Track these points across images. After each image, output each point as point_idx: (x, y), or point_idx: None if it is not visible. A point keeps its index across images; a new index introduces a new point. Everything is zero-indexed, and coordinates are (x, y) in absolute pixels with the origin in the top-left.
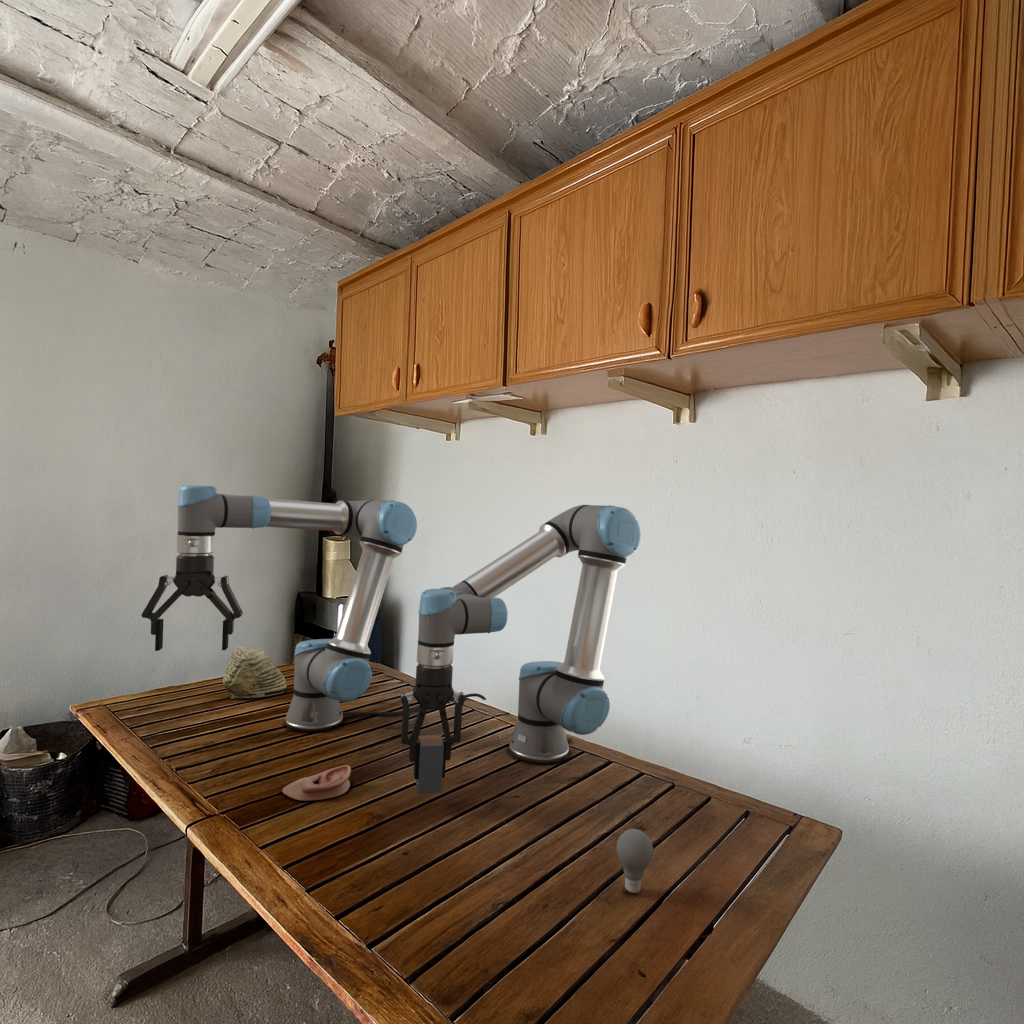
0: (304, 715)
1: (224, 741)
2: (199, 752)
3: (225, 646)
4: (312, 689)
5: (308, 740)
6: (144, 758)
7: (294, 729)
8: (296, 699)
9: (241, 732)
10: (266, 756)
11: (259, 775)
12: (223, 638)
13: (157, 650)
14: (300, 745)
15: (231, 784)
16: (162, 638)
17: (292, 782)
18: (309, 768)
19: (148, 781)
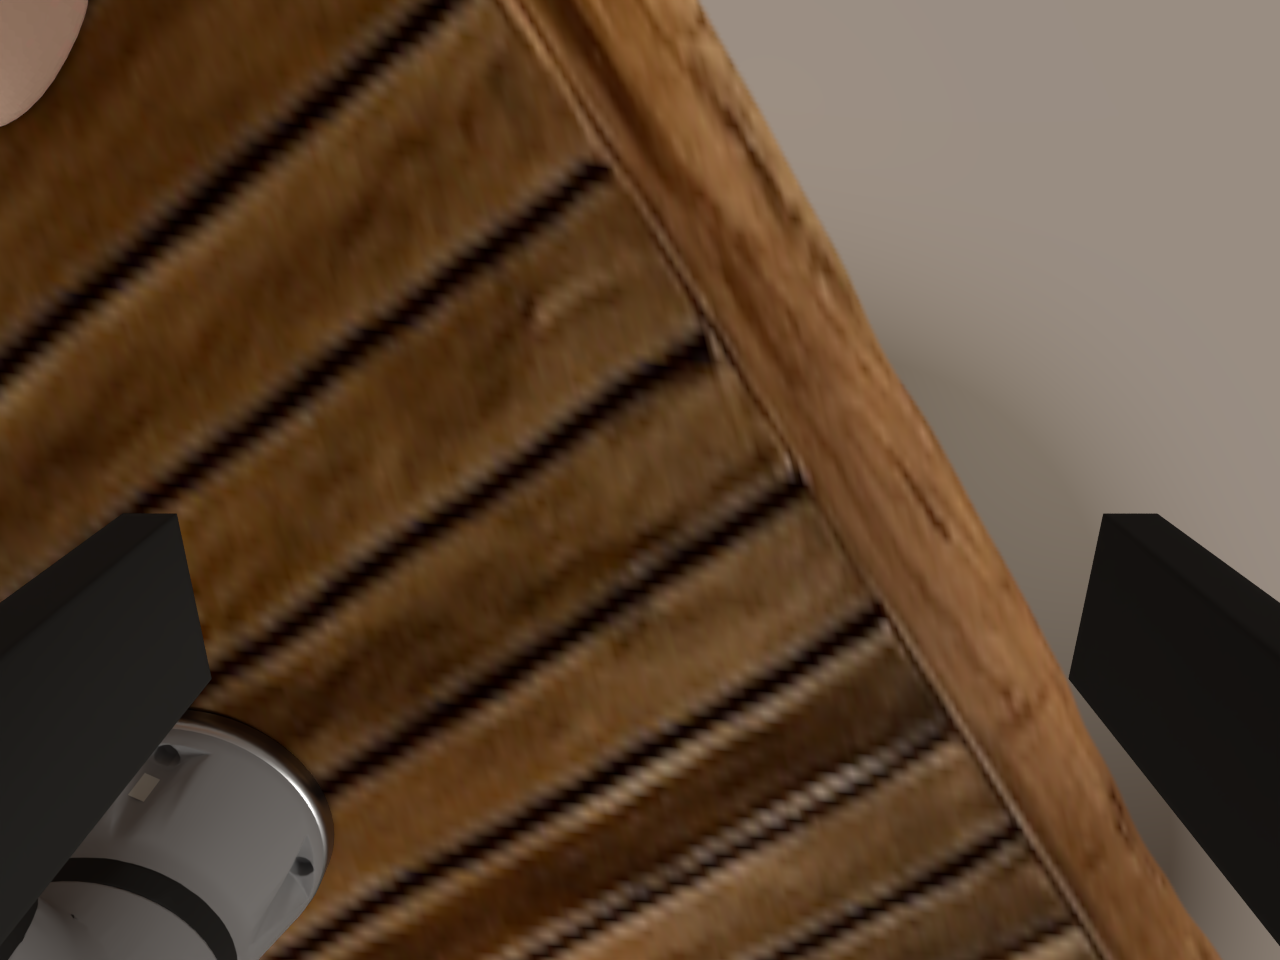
0: (179, 778)
1: (565, 647)
2: (649, 534)
3: (91, 542)
4: (63, 899)
5: None
6: (885, 493)
7: (262, 736)
8: (209, 880)
9: (514, 741)
10: (313, 451)
11: (279, 219)
12: (36, 607)
13: (1123, 519)
14: None
15: (389, 123)
16: (1151, 758)
17: (47, 44)
18: (47, 276)
19: (805, 217)
